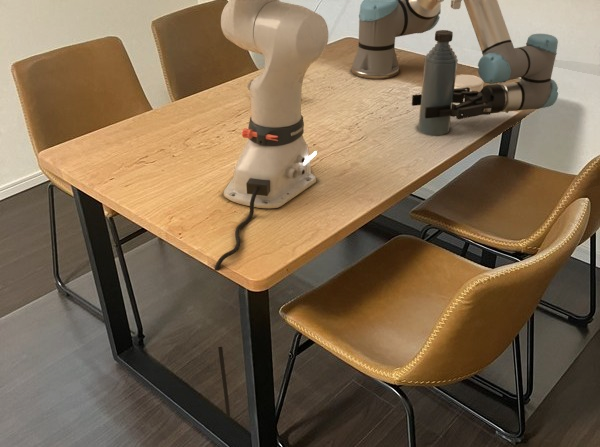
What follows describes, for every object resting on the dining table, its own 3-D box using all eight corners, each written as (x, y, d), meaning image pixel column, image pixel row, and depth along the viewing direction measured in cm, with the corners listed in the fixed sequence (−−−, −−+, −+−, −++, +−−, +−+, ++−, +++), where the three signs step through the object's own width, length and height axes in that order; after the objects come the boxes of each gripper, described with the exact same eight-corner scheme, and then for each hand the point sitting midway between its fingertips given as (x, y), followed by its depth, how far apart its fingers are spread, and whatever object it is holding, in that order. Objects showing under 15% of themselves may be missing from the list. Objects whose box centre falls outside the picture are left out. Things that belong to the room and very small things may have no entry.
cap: (433, 37, 154) (434, 30, 153) (450, 37, 154) (451, 29, 153) (436, 42, 150) (436, 34, 149) (453, 42, 150) (454, 34, 149)
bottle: (416, 123, 168) (424, 29, 155) (446, 122, 168) (457, 29, 155) (420, 135, 161) (429, 38, 148) (451, 135, 161) (464, 38, 148)
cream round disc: (444, 85, 192) (445, 74, 190) (475, 84, 193) (477, 73, 191) (454, 97, 183) (456, 86, 181) (487, 95, 184) (489, 84, 182)
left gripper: (420, -64, 148) (415, -4, 155) (464, -51, 131) (456, 15, 139) (444, -66, 149) (438, -6, 157) (490, -53, 133) (481, 13, 140)
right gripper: (517, 126, 158) (433, 136, 154) (479, 97, 175) (403, 105, 171) (522, 98, 154) (436, 107, 150) (483, 71, 171) (405, 79, 167)
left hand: (447, 4), depth 148 cm, fingers open, 6 cm apart
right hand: (419, 106), depth 160 cm, fingers closed on bottle, 8 cm apart
